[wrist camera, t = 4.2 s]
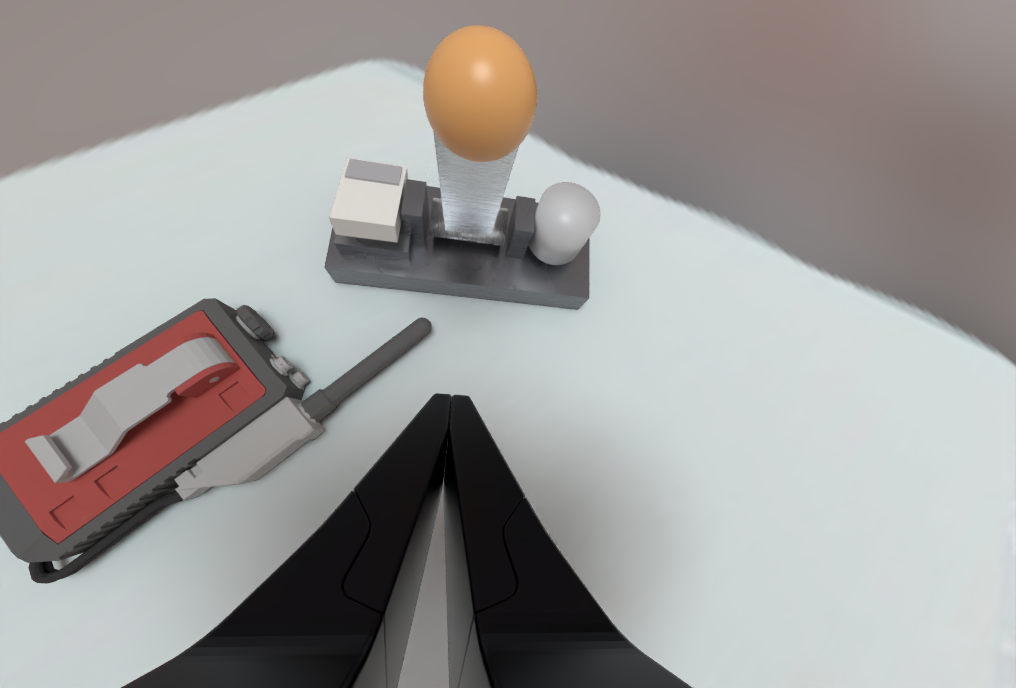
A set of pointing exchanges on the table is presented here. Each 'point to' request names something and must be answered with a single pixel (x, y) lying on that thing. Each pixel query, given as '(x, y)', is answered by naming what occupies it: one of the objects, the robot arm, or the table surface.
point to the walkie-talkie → (159, 431)
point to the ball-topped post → (476, 129)
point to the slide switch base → (460, 259)
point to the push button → (563, 222)
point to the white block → (369, 200)
